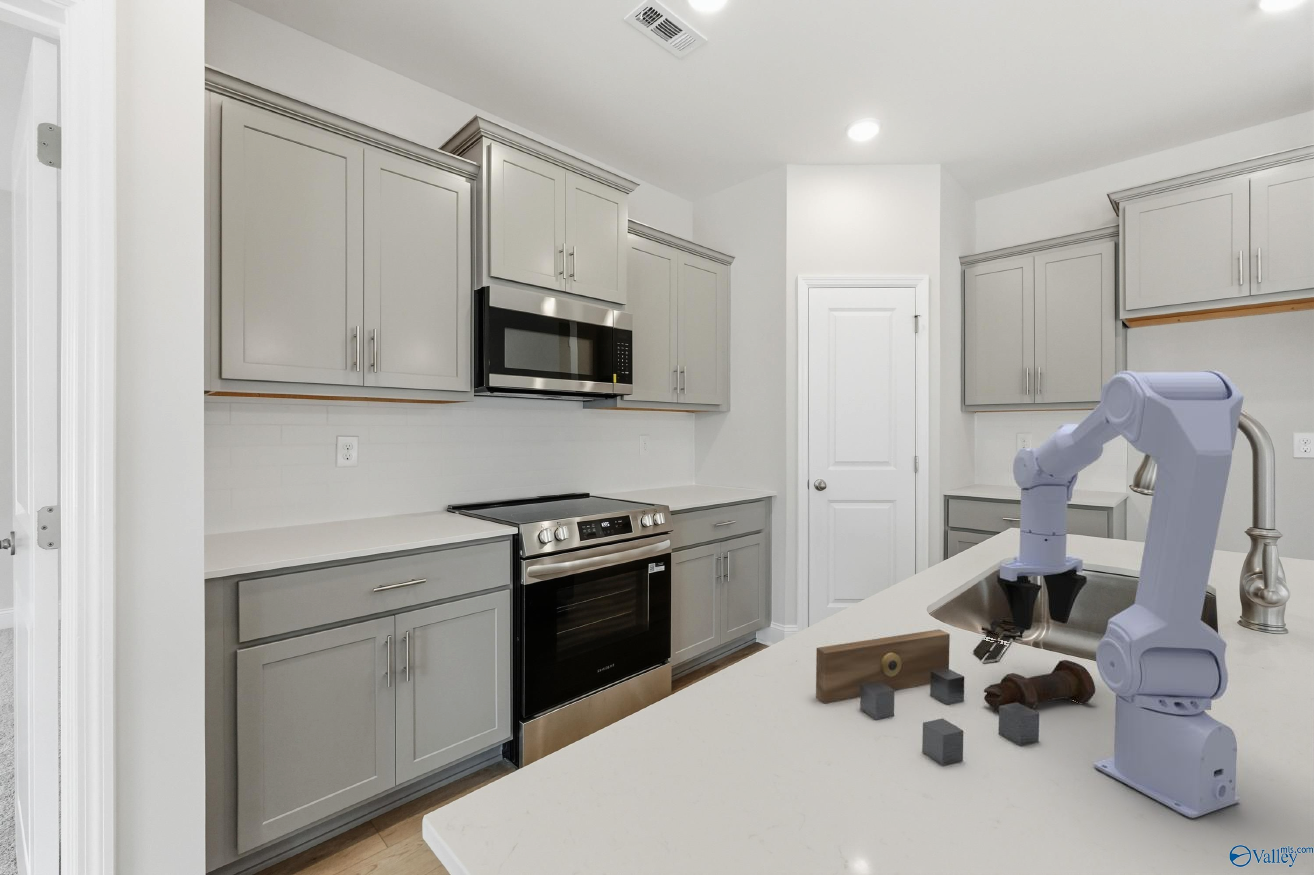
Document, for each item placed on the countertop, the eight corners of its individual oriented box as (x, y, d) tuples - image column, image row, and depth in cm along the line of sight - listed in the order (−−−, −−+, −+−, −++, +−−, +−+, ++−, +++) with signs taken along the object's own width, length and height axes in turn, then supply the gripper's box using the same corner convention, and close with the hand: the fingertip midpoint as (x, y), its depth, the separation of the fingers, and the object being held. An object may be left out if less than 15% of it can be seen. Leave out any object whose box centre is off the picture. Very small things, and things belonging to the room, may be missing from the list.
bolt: (987, 723, 82) (1072, 705, 86) (1014, 720, 77) (1103, 701, 81) (969, 677, 84) (1053, 662, 88) (995, 672, 80) (1082, 656, 84)
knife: (992, 670, 95) (993, 661, 95) (950, 658, 100) (950, 650, 100) (1036, 630, 113) (1036, 623, 113) (998, 622, 118) (998, 614, 118)
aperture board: (952, 681, 90) (953, 635, 89) (827, 705, 82) (828, 654, 82) (938, 674, 92) (939, 629, 92) (815, 697, 85) (816, 647, 84)
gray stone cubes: (1038, 741, 73) (1039, 713, 73) (942, 765, 68) (943, 735, 68) (946, 692, 86) (947, 668, 86) (860, 709, 81) (860, 683, 81)
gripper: (1051, 524, 94) (1048, 610, 95) (982, 530, 89) (980, 621, 90) (1098, 532, 88) (1095, 625, 88) (1026, 539, 83) (1024, 637, 83)
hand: (1040, 624), depth 88 cm, fingers open, 7 cm apart
